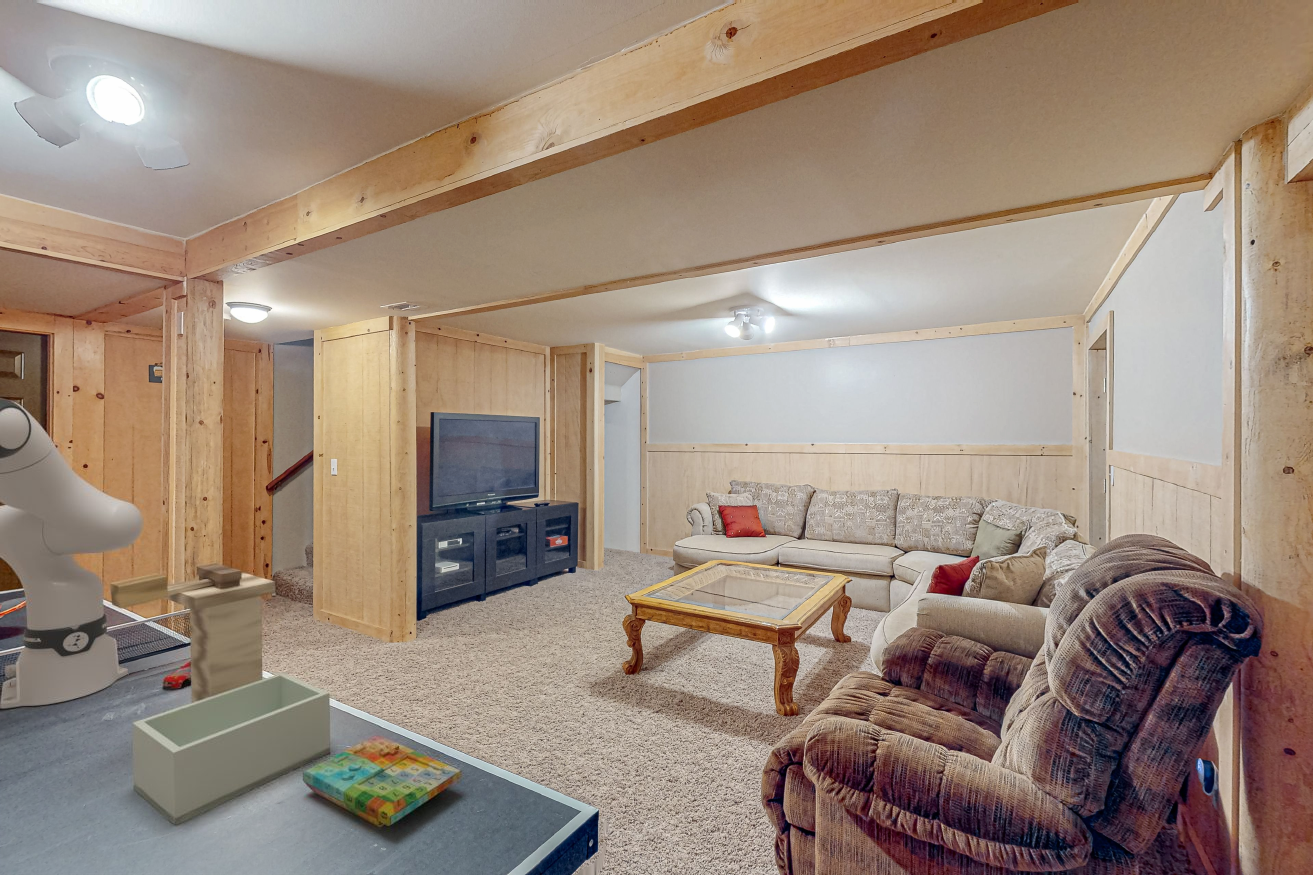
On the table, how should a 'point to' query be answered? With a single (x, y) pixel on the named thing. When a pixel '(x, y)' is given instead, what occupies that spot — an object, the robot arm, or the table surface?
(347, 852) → the table surface
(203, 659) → the stand
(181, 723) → the bin
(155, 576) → the tan wooden bar
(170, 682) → the race car
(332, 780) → the puzzle game
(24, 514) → the robot arm
